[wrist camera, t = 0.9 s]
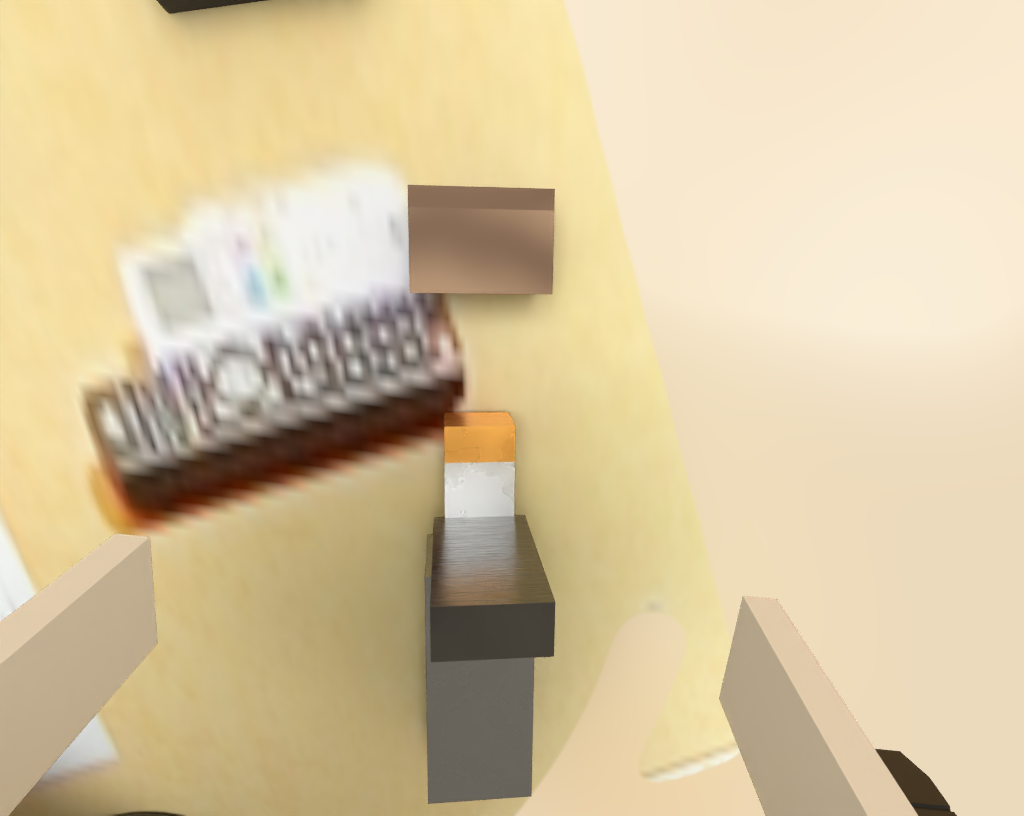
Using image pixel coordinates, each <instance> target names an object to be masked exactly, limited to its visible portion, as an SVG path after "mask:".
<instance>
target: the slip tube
mask: <svg viewBox="0 0 1024 816" xmlns="http://www.w3.org/2000/svg"><path fill="white" fill-rule="evenodd" d="M444 461H445V517H436V518H434V528H433V550H432V573H431V595H430V647H431V662H450V661H470V660H491V659H511V658H532V657H552V656H554V628H555V600H554V597H553V595H552V592H551V589H550V586H549V583H548V580H547V577H546V575H545V572H544V569H543V566H542V563H541V560H540V557H539V555H538V552H537V549H536V546H535V543H534V540H533V537H532V535H531V532H530V529H529V526H528V523H527V520H526V517H525V515H514V490H515V424H514V422H513V420H512V418H511V416H510V414H509V412H478V413H444Z"/></svg>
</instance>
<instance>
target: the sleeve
mask: <svg viewBox="0 0 1024 816" xmlns="http://www.w3.org/2000/svg"><path fill="white" fill-rule="evenodd" d="M432 550H433V535H428V537H427V552H426V567H425V622H426V688H427V754H428V804H430V803H444V802H458V801H472V800H486V799H500V798H514V797H528V796H531V791H532V739H533V688H534V657H532V658H511V659H491V660H470V661H450V662H431V647H430V595H431V573H432Z"/></svg>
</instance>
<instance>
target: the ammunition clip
mask: <svg viewBox="0 0 1024 816" xmlns="http://www.w3.org/2000/svg"><path fill="white" fill-rule="evenodd" d="M157 1H158V2H159V4H160V5H161V6H162V7H163V8H164V9H165V10H166V11H167V12H168V13H169V14H170V13H177V12H185V11H192V10H199V9H207V8H214V7H221V6H229V5H236V4H243V3H251V2H258V1H266V0H157Z"/></svg>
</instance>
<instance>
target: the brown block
mask: <svg viewBox="0 0 1024 816" xmlns="http://www.w3.org/2000/svg"><path fill="white" fill-rule="evenodd" d="M554 197H555V189H535V188H499V187H462V186H426V185H408V219H409V274H410V293H473V294H552V285H553V241H554Z"/></svg>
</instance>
